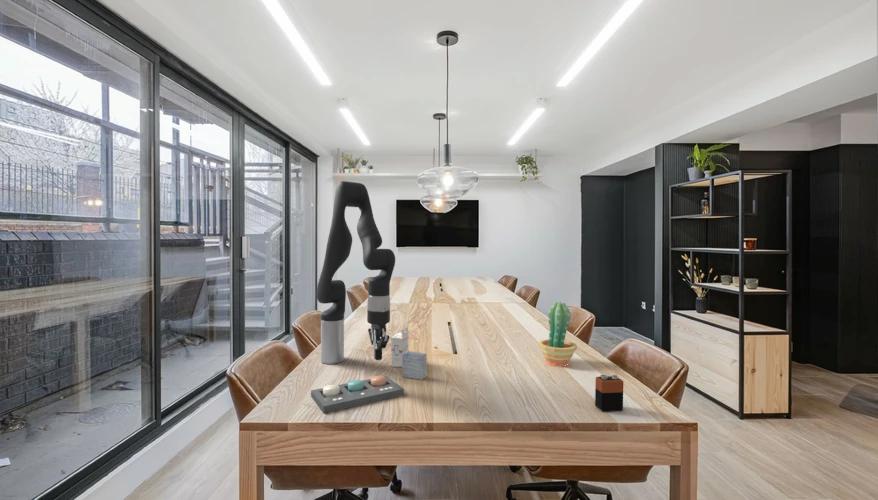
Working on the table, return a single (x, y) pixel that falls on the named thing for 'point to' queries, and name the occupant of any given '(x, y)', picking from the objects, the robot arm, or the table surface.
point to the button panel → (356, 395)
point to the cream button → (331, 390)
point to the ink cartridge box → (399, 348)
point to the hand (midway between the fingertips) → (378, 359)
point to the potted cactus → (558, 336)
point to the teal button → (355, 385)
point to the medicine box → (414, 365)
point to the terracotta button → (378, 381)
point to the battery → (609, 393)
